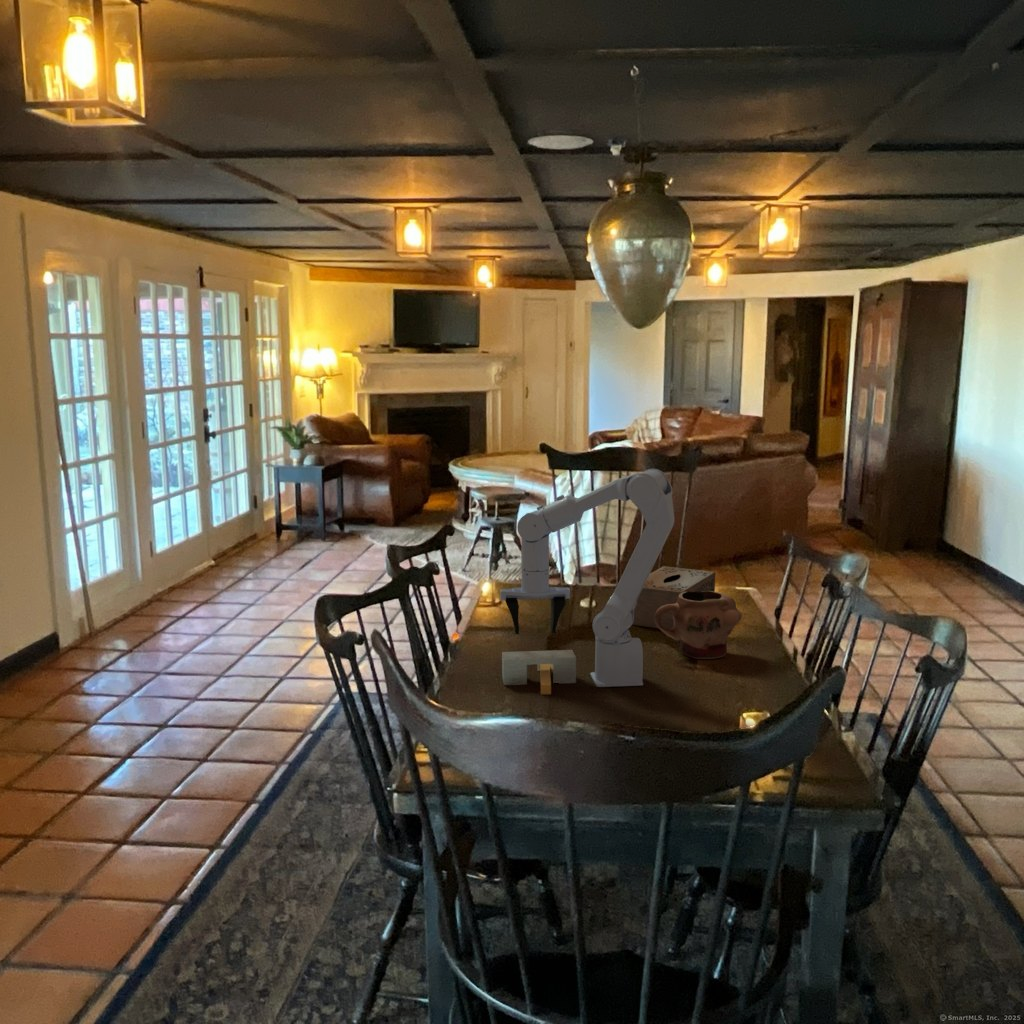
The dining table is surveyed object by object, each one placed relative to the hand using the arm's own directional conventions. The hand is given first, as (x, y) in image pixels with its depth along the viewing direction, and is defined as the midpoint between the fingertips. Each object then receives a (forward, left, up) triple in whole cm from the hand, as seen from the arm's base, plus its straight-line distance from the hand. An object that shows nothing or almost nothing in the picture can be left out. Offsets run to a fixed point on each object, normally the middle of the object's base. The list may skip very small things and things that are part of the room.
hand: (534, 632), depth 193 cm
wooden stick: (-2, +6, -9) cm, 10 cm away
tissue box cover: (-40, -40, -9) cm, 58 cm away
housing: (0, +6, -9) cm, 10 cm away
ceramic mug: (-37, -7, -9) cm, 39 cm away
